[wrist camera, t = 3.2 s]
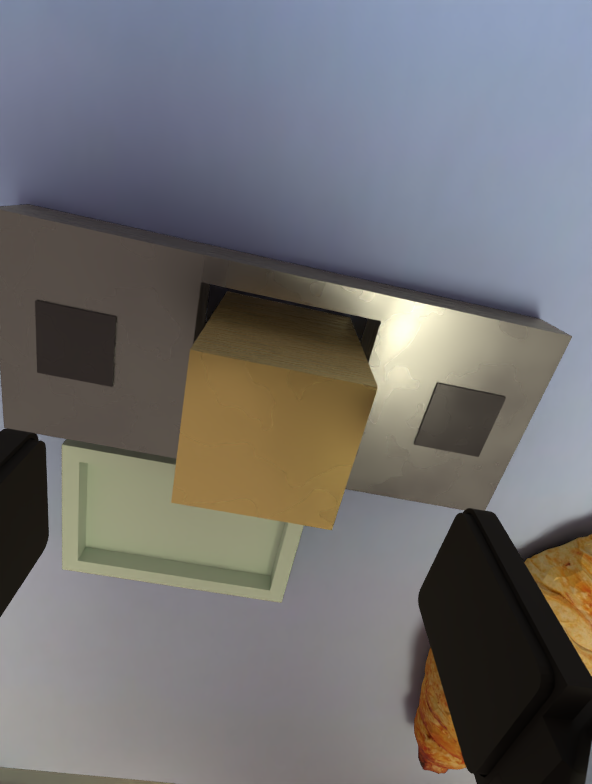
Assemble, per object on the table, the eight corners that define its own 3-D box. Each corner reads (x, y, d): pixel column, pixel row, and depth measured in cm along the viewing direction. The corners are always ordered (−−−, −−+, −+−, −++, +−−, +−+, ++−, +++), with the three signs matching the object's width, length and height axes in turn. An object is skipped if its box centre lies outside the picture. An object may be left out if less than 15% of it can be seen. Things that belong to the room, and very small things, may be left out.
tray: (313, 470, 23) (314, 489, 22) (282, 579, 27) (281, 602, 25) (77, 427, 22) (61, 444, 21) (75, 547, 25) (62, 569, 24)
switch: (540, 319, 20) (573, 337, 17) (465, 481, 24) (484, 514, 21) (28, 204, 18) (-13, 207, 15) (35, 402, 22) (2, 428, 19)
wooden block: (350, 317, 20) (378, 387, 13) (320, 423, 22) (331, 529, 15) (227, 291, 19) (189, 349, 13) (210, 402, 22) (171, 502, 15)
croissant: (530, 463, 27) (535, 524, 20) (711, 560, 24) (790, 670, 17) (381, 676, 35) (348, 773, 28) (504, 769, 32) (501, 902, 25)
